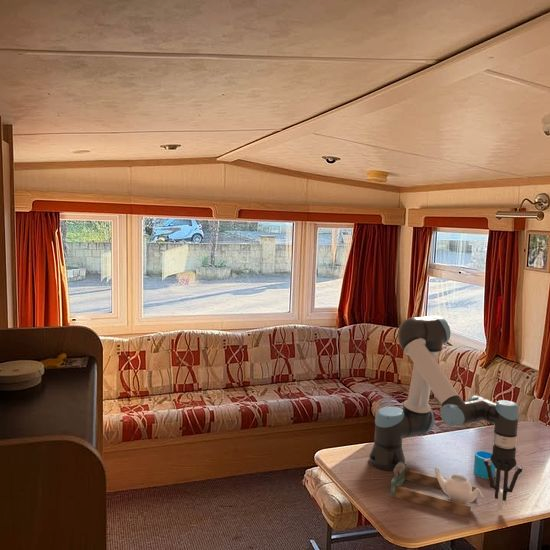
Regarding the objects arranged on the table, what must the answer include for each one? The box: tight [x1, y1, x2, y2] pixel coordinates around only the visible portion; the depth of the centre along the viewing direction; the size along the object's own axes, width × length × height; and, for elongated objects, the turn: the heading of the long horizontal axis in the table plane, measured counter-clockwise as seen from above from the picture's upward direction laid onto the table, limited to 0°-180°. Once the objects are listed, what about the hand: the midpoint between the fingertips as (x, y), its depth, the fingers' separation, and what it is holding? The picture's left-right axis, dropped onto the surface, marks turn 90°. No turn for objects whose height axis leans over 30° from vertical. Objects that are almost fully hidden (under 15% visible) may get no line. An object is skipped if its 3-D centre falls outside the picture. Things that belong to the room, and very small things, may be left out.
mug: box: [473, 450, 496, 479], centre depth 223 cm, size 12×8×8 cm
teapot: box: [434, 468, 485, 504], centre depth 199 cm, size 10×20×9 cm, turn 42°
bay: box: [390, 462, 478, 518], centre depth 203 cm, size 29×17×9 cm, turn 62°
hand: (499, 507), depth 193 cm, fingers closed
